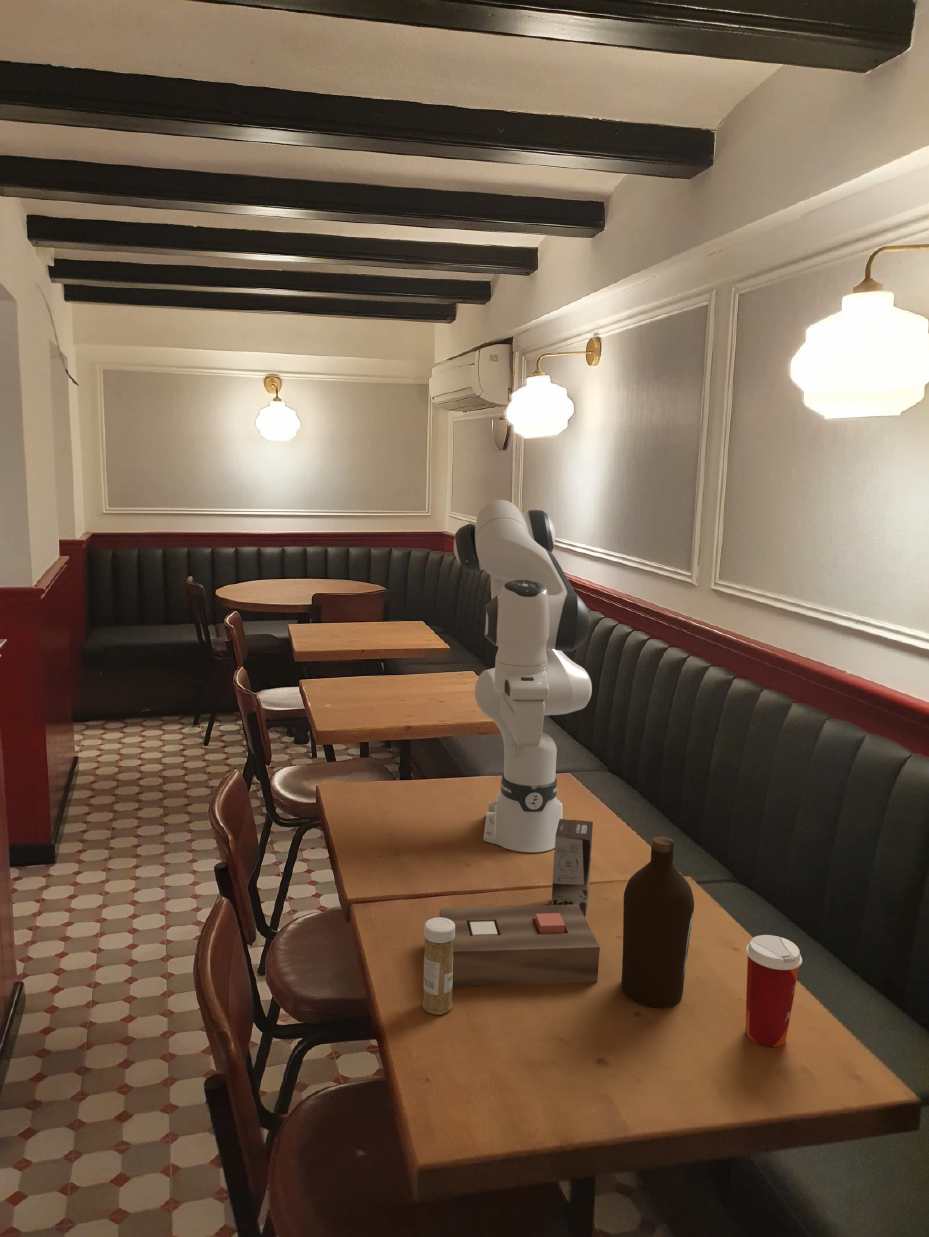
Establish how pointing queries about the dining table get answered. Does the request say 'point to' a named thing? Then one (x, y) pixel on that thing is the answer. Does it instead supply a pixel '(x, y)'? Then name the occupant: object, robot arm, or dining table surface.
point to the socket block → (522, 947)
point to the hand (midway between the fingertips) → (517, 755)
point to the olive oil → (656, 930)
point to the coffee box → (572, 863)
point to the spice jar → (438, 965)
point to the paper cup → (770, 988)
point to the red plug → (549, 923)
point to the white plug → (482, 928)
